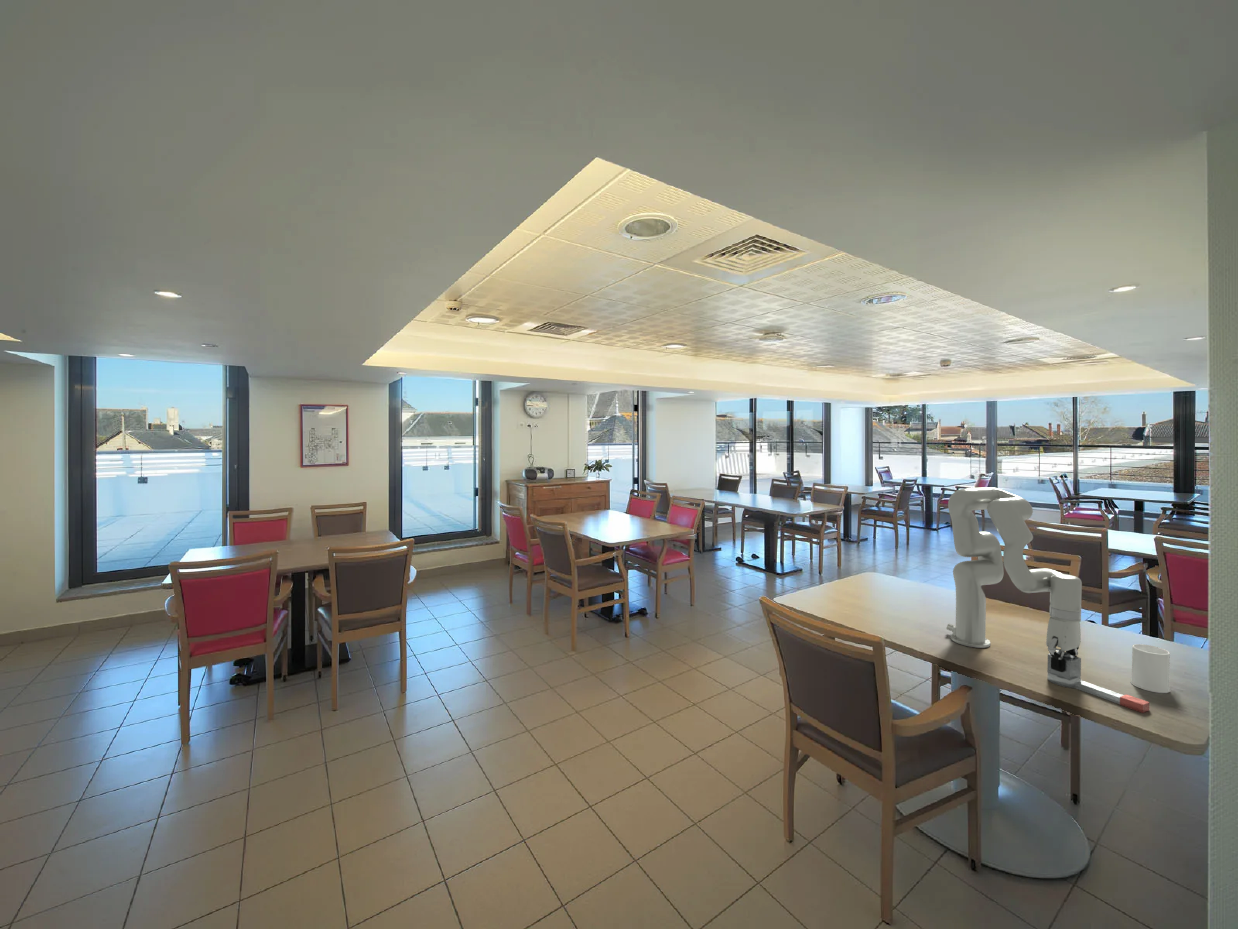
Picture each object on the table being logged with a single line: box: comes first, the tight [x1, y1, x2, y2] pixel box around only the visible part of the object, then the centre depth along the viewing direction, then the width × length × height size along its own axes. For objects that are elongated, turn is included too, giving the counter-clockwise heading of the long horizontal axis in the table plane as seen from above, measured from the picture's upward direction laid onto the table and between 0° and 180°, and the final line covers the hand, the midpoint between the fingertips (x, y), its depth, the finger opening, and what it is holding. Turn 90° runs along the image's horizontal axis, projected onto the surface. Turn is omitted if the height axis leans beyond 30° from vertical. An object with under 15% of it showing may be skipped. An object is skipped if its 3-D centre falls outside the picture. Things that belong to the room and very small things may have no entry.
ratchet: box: [1047, 672, 1150, 714], centre depth 153 cm, size 24×8×6 cm, turn 22°
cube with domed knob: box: [1046, 650, 1082, 680], centre depth 160 cm, size 6×6×7 cm
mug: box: [1130, 643, 1171, 694], centre depth 156 cm, size 12×8×12 cm
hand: (1063, 667), depth 160 cm, fingers open, 6 cm apart
